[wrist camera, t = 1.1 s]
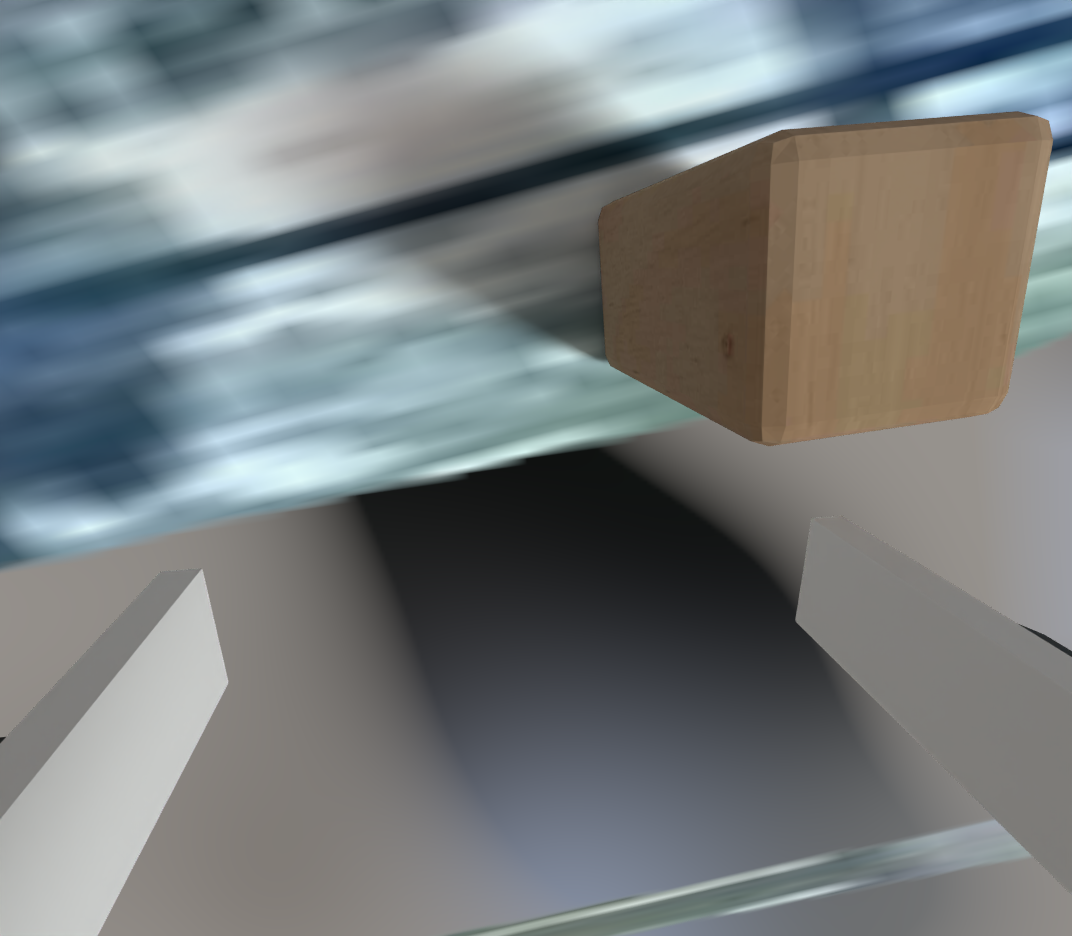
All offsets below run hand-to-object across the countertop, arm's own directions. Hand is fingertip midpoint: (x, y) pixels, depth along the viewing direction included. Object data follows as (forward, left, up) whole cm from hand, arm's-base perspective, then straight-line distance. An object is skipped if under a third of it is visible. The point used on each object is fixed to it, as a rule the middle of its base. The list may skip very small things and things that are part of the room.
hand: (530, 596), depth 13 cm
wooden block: (-6, +13, -27) cm, 30 cm away
